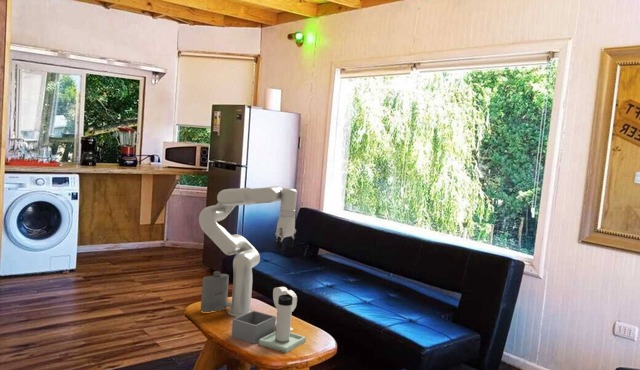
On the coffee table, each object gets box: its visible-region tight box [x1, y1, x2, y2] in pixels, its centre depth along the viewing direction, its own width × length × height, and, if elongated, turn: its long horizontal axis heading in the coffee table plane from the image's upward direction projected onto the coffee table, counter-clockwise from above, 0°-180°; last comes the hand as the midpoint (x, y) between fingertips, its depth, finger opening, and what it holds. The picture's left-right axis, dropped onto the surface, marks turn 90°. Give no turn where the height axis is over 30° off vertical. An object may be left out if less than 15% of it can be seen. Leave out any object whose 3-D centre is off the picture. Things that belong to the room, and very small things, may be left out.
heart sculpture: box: [272, 286, 298, 332], centre depth 241 cm, size 16×5×18 cm, turn 38°
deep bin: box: [231, 310, 277, 345], centre depth 226 cm, size 13×16×8 cm
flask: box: [200, 270, 230, 312], centre depth 254 cm, size 15×6×20 cm, turn 139°
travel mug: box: [275, 294, 293, 343], centre depth 220 cm, size 6×7×20 cm
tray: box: [258, 330, 307, 354], centre depth 220 cm, size 14×16×2 cm
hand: (284, 248), depth 246 cm, fingers open, 9 cm apart
